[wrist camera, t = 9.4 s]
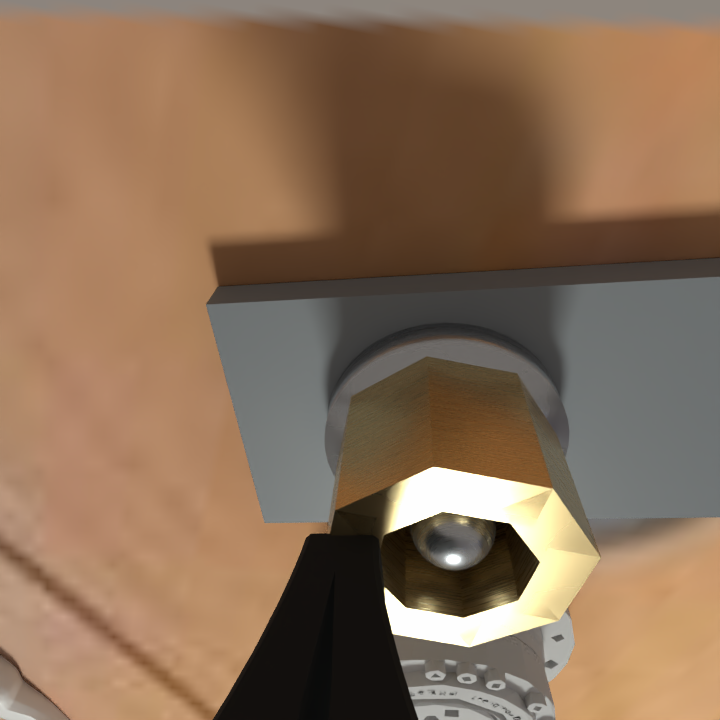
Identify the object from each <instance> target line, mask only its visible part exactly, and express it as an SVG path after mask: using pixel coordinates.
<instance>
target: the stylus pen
mask: <svg viewBox="0 0 720 720" xmlns="http://www.w3.org/2000/svg"><path fill="white" fill-rule="evenodd" d="M0 718H3V719H6V720H69V719H68V718H67V717H66V716H65V715H64V714H63V713H62V712H61V711H60V710H59V709H58V708H57V707H56V706H55V705H54V704H53V703H52V702H51V701H49V700H48V699H47V698H46V697H45V696H43V695H42V694H41V693H40V692H38V691H37V690H35V689H34V688H33V687H31V686H30V685H29V684H27V683H26V682H24V680H23V679H22V677H21V675H20V673H19V671H18V670H17V668H16V667H15V666H14V665H13V664H12V663H11V662H9V661H8V660H6V659H5V658H4V657H2V656H1V655H0Z"/></svg>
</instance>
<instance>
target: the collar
mask: <svg viewBox="0 0 720 720" xmlns="http://www.w3.org/2000/svg"><path fill="white" fill-rule="evenodd" d="M442 511H444V512H450V513H455V514H461V515H466V516H472V517H478V518H483V519H489V520H494V521H496V535H495V539H494V543H493V545H492V547H491V549H490V551H489V553H488V554H487V555H486V556H485V558H484V559H482V560H481V561H480V562H479V563H478V564H476V565H474V566H472V567H470V568H467V569H463V570H447V569H443V568H440V567H437V566H435V565H433V564H432V563H430V562H429V561H427V560H426V559H425V558H424V557H423V556H422V555H421V554H420V552H419V551H418V550H417V548H416V546H415V544H414V542H413V540H412V537H411V533H410V524H412V523H415V522H417V521H420V520H422V519H424V518H427V517H429V516H432V515H434V514H437V513H439V512H442ZM327 534H330V535H374V536H375V537H377V538H378V539H379V544H380V550H381V560H382V569H383V579H384V591H385V602H386V607H387V612H388V616H389V620H390V624H391V628H392V632H393V634H397V635H403V636H409V637H414V638H420V639H426V640H432V641H438V642H444V643H450V644H456V645H461V646H467V647H471V646H474V645H478V644H481V643H484V642H488V641H491V640H495V639H498V638H501V637H505V636H508V635H512V634H515V633H518V632H522V631H525V630H529V629H532V628H535V627H539V626H542V625H546V624H549V623H552V622H556V621H559V620H560V618H561V617H562V615H563V614H564V612H565V611H566V609H567V608H568V606H569V605H570V603H571V602H572V600H573V599H574V597H575V596H576V594H577V593H578V591H579V590H580V588H581V587H582V585H583V584H584V582H585V581H586V579H587V578H588V576H589V575H590V573H591V572H592V570H593V569H594V567H595V566H596V564H597V563H598V561H599V560H600V558H601V556H600V553H599V551H598V548H597V545H596V542H595V539H594V537H593V534H592V531H591V528H590V526H589V523H588V520H587V517H586V514H585V512H584V509H583V506H582V503H581V501H580V498H579V495H578V492H577V489H576V487H575V484H574V481H573V478H572V476H571V473H570V470H569V467H568V464H567V462H566V459H565V456H564V453H563V451H562V448H561V445H560V442H559V439H558V437H557V434H556V433H555V431H554V430H553V428H552V426H551V425H550V423H549V422H548V420H547V419H546V417H545V416H544V414H543V412H542V411H541V409H540V408H539V406H538V405H537V403H536V402H535V400H534V399H533V397H532V395H531V394H530V392H529V391H528V389H527V388H526V386H525V385H524V383H523V381H522V380H521V378H520V377H519V375H518V374H517V373H512V372H507V371H502V370H497V369H491V368H486V367H481V366H475V365H470V364H465V363H459V362H454V361H449V360H444V359H438V358H433V357H428V356H426V357H425V358H423V359H421V360H419V361H417V362H415V363H413V364H411V365H409V366H408V367H406V368H404V369H402V370H400V371H398V372H396V373H394V374H392V375H390V376H389V377H387V378H385V379H383V380H381V381H379V382H377V383H375V384H373V385H372V386H370V387H368V388H366V389H364V390H362V391H360V392H358V393H357V394H355V395H353V396H351V400H350V405H349V409H348V414H347V419H346V424H345V429H344V433H343V438H342V443H341V448H340V452H339V457H338V462H337V468H336V475H335V482H334V488H333V495H332V501H331V508H330V514H329V521H328V528H327Z"/></svg>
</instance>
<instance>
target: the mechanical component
mask: <svg viewBox="0 0 720 720" xmlns="http://www.w3.org/2000/svg"><path fill="white" fill-rule="evenodd" d="M393 636H394V640H395V644H396V648H397V652H398V655H399V659H400V662H401V666H402V669H403V673H404V676H405V679H406V682H407V686H408V689H409V692H410V695H411V698H412V702H413V705H414V708H415V711H416V714H417V717H418V720H555V707H554V703H553V699H552V695H551V692H550V688H549V684H548V682H549V681H551V680H552V679H554V678H555V677H556V676H557V674H558V673H559V672H560V671H561V670H562V669H563V668H564V666H565V665H566V664H567V662H568V660H569V657H570V655H571V652H572V650H573V647H574V645H575V642H574V635H573V628H572V621H571V617H570V613H569V610H568V608H567V609H566V611H565V612H564V614H563V615H562V617H561V618H560V620H559V621H556V622H552V623H549V624H546V625H542V626H539V627H535V628H532V629H529V630H525V631H522V632H518V633H515V634H512V635H508V636H505V637H501V638H498V639H495V640H491V641H488V642H484V643H481V644H478V645H474V646H471V647H467V646H461V645H456V644H450V643H444V642H438V641H432V640H426V639H420V638H414V637H409V636H403V635H397V634H393Z"/></svg>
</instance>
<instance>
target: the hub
mask: <svg viewBox="0 0 720 720" xmlns="http://www.w3.org/2000/svg"><path fill="white" fill-rule="evenodd" d="M426 356H428V357H433V358H438V359H444V360H449V361H454V362H459V363H465V364H470V365H475V366H481V367H486V368H491V369H497V370H502V371H507V372H512V373H517V374H518V375H519V377H520V378H521V380H522V381H523V383H524V385H525V386H526V388H527V389H528V391H529V392H530V394H531V395H532V397H533V399H534V400H535V402H536V403H537V405H538V406H539V408H540V409H541V411H542V412H543V414H544V416H545V417H546V419H547V420H548V422H549V423H550V425H551V426H552V428H553V430H554V431H555V433H556V434H557V437H558V439H559V442H560V445H561V448H562V451H563V453H564V456H565V458H566V454H567V450H568V446H569V433H570V432H569V424H568V418H567V415H566V411H565V408H564V406H563V403H562V401H561V398H560V396H559V394H558V391H557V389H556V387H555V384H554V382H553V380H552V378H551V376H550V374H549V372H548V371H547V369H546V368H545V366H544V365H543V364H542V362H541V361H540V360H539V359H538V358H537V357H536V356H535V355H534V354H533V353H532V352H531V351H530V350H529V349H527V348H526V347H524V346H523V345H522V344H520V343H519V342H517V341H516V340H514V339H512V338H510V337H508V336H506V335H504V334H502V333H499V332H496V331H494V330H491V329H488V328H484V327H480V326H476V325H470V324H462V323H434V324H425V325H420V326H415V327H411V328H407V329H404V330H401V331H398V332H395V333H392V334H390V335H388V336H386V337H384V338H382V339H380V340H378V341H376V342H375V343H373V344H372V345H370V346H369V347H367V348H366V349H365V350H363V351H362V352H361V353H360V354H359V355H358V356H356V357H355V358H354V359H353V360H352V361H351V363H350V364H349V365H348V366H347V367H346V368H345V370H344V371H343V373H342V374H341V376H340V377H339V379H338V381H337V383H336V385H335V387H334V390H333V392H332V396H331V400H330V404H329V410H328V415H327V421H326V427H325V436H324V443H325V453H326V457H327V461H328V464H329V466H330V468H331V471H332V473H333V475H334V476H335V475H336V468H337V462H338V457H339V452H340V448H341V443H342V438H343V433H344V429H345V424H346V419H347V414H348V409H349V405H350V400H351V396H353V395H355V394H357V393H358V392H360V391H362V390H364V389H366V388H368V387H370V386H372V385H373V384H375V383H377V382H379V381H381V380H383V379H385V378H387V377H389V376H390V375H392V374H394V373H396V372H398V371H400V370H402V369H404V368H406V367H408V366H409V365H411V364H413V363H415V362H417V361H419V360H421V359H423V358H425V357H426ZM410 533H411V537H412V540H413V542H414V544H415V546H416V548H417V550H418V551H419V552H420V554H421V555H422V556H423V557H424V558H425V559H426V560H427V561H429V562H430V563H432V564H433V565H435V566H437V567H440V568H443V569H447V570H463V569H467V568H470V567H472V566H474V565H476V564H478V563H479V562H480V561H481V560H482V559H484V558H485V556H486V555H487V554H488V553H489V551H490V549H491V547H492V545H493V543H494V539H495V535H496V521H494V520H489V519H483V518H478V517H472V516H466V515H461V514H455V513H450V512H444V511H442V512H439V513H437V514H434V515H432V516H429V517H427V518H424V519H422V520H420V521H417V522H415V523H412V524H410Z"/></svg>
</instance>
